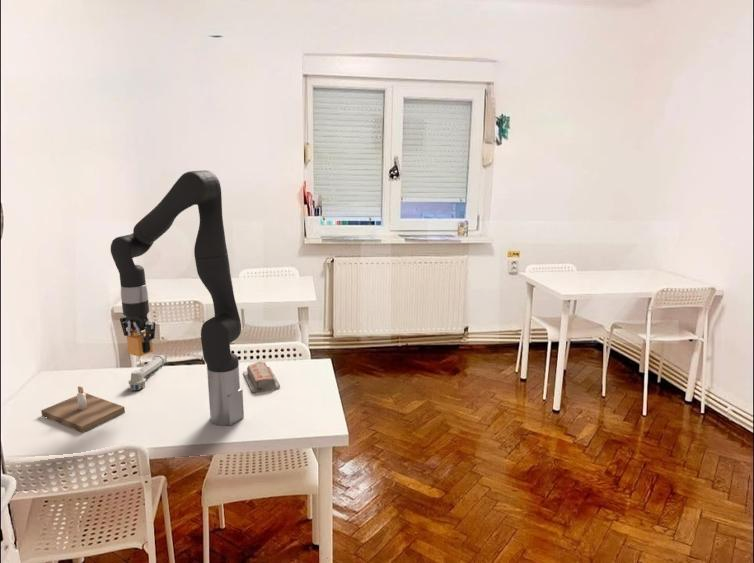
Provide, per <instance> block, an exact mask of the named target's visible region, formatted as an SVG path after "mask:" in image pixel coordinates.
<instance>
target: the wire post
mask: <svg viewBox="0 0 754 563" xmlns="http://www.w3.org/2000/svg"><path fill="white" fill-rule="evenodd" d="M77 392H78V393H77V394H76V396H77V398H78V405H79V410H85V409H87V403H86V396H85V393H86V392H84V387H83V386H80V385H78V386H77Z"/></svg>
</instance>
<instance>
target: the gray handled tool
mask: <svg viewBox="0 0 754 563" xmlns="http://www.w3.org/2000/svg"><path fill="white" fill-rule="evenodd" d="M167 361H168V360H167V356H166V355H165V354H163V353H162V354H158V355H155V356H154V357H153V358H152V359H151V360H150V361H148V362H147V363H146V364H145V365H143V366H142V367H141V368H139V370H133V371H131V373H130V379H129V380H128V385H129V390H130V391H140V389H145V388H146V382H147V378H145V377H146V376H148V375H149V374H151V373H152V372H153V371H155V370H157V369H158V368H160V367H163V365H165V363H166V362H167Z"/></svg>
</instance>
